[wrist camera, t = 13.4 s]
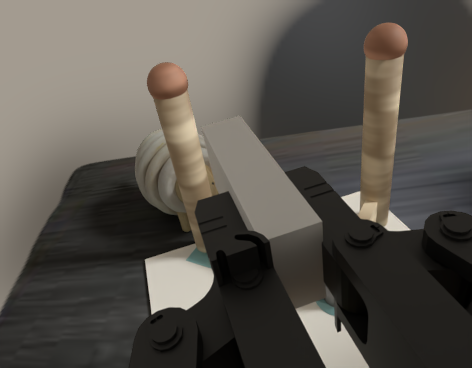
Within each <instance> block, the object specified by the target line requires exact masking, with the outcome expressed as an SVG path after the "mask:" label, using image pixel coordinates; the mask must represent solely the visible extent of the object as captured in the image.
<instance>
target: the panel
mask: <svg viewBox="0 0 472 368" xmlns="http://www.w3.org/2000/svg"><path fill="white" fill-rule="evenodd" d="M147 86H148V90H149V92H150V94H151V95H152V97H153V99H154V102H155V105H156V109H157V112H158V116H159V119H160V123H161V126H162V130H163V133H164V137H165V140H166V144H167V147H168V151H169V154H170V158H171V161H172V164H173V168H174V171H175V175H176V178H177V182H178V185H179V189H180V192H181V195H182V199H183V202H184V206H185V209H186V213H187V216H188V220H189V223H190V227H191V230H192V233H193V237H194V240H195V244H196V247H197V249H198V250H199V251H201V252H204V253H206V249H205V246H204V243H203V240H202V236H201V233H200V230H199V226H198V223H197V220H196V216H195V213H194V212H195V208H196V205H197V201H198V200H201V199H204V198H208V197H211V196H212V193H211V189H210V184H209V180H208V176H207V172H206V167H205V163H204V159H203V154H202V150H201V146H200V142H199V137H198V133H197V129H196V124H195V120H194V116H193V112H192V108H191V103H190V99H189V94H188V90H187V88H188V80H187V77H186V74H185V73H184V71H183V70H182V69H181V68H180V67H179V66H177V65H175V64H173V63H168V62H167V63H166V62H165V63H160V64H158V65H156V66H155V67H153V68H152V70H151V71H150V73H149V75H148V78H147Z"/></svg>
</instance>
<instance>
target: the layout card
mask: <svg viewBox="0 0 472 368" xmlns="http://www.w3.org/2000/svg"><path fill="white" fill-rule="evenodd" d="M341 198H342V199H343V200H344V201H345V202H346V203H347V205H348V206H349V207H350V208H351V209H352V210H353V211H354V212H355V213H356V214H357V215H358V214H359V212H360V192H356V193H353V194H350V195H347V196H344V197H341ZM384 228H386V229H387V230H388V231H406V230H410V229H409V228H408V227H407V226H406V225H404V224H403V223H402V222H401V221H400V220H399V219H398V218H397V217H396V216H395V215H394V214H392V213H391V212H390V211H389V213H388V222H387V225H386V226H384ZM145 264H146V272H147V280H148V288H149V296H150V304H151V312H152V314H154V313H155V312H157V311H159V310H162V309H165V308H168V307H180V308H182V309H185V310H187V309H189V308H190V307H192V306H193V305H195V304H196V303H198V302H199V301H200V300H201V299H202V298H203V297H205V295H206V294H207V293H208V291H209V290H210V288H211V286H212V284H213V279H214V274H213V271H212V268H211V265H210V262H209V259H208V256H207V253H204V252H201V251H199V250H198V249H197V247H196V244H192V245H189V246H186V247H182V248H179V249H176V250H173V251H170V252H167V253H163V254H160V255H157V256H154V257H151V258H148V259H145ZM296 311H297V313H298V315H299V317H300V319H301V321H302V322H303V324H304V326H305V328H306V330H307V332H308V334H309V336H310V338H311V340H312V342H313V344H314V346H315V347H316V349H317V351H318V353H319V355H320V357H321V359H322V361H323V363H324V365H325V367H326V368H369V366H368V364H367V363H366V361H365V360H364V358H363V356H362V355H361V353H360V351H359V350H358V348H357V347H356V345H355V343H354V342H353V340H352V338H351V337H350V335H349V334H348V332H347V330H346V329H345V327H344V325H343V324H342V322H341V331H340V332H338V333H337V330H336V327H335V317H334V307H332V306H330V305H329V304H327V303H326V301H325V300H324V299H321V300H319V301H316V302H313V303H310V304H308V305H305V306H302V307H299V308H297V309H296Z"/></svg>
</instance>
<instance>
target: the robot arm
mask: <svg viewBox="0 0 472 368" xmlns="http://www.w3.org/2000/svg"><path fill="white" fill-rule="evenodd" d="M201 128H202V133H203V137H204V141H205V145H206V149H207V153H208V157H209V161H210V165H211V169H212V173H213V177H214V181H215V186H216V188H217V191H218V193H219V194H217V195H214V196H211V197H208V198H204V199H201V200H198V201H197V205H196V208H195V212H194V213H195V216H196V220H197V223H198V226H199V230H200V233H201V236H202V240H203V243H204V246H205V249H206V253H207V256H208V259H209V262H210V265H211V268H212V271H213V274H214V279H213V284H212V286H211V288H210V290H209V291H208V293H207V294H206V295H205V297H203V298H202V299H201V300H200V301H199V302H198V303H196V304H195V305H193V306H192V307H190V308H189V309H187V310H185V309H182V308H180V307H168V308H165V309H162V310H159V311H157V312H155V313H154V314H152V315H151V316H149V317H148V318H146V320H145V321H144V322H143V323H142V324H141V326H140V327H139V328H138V331H137V333H136V336H135V339H134V343H133V348H132V353H131V359H130V364H129V368H326V367H325V365H324V363H323V361H322V359H321V357H320V355H319V353H318V351H317V349H316V347H315V346H314V344H313V342H312V340H311V338H310V336H309V334H308V332H307V330H306V328H305V326H304V324H303V322H302V321H301V319H300V317H299V315H298V313H297V311H296V309H297V308H299V307H302V306H305V305H308V304H310V303H313V302H316V301H319V300H321V299H324V298H326V287H325V284H326V286H327V288H328V289H329V291H330V292H331V294H332V295H333V297H334V317H335V327H336V330H337V333H338V332H340V331H341V322H342V324H343V325H344V327H345V329H346V330H347V332H348V334H349V335H350V337H351V338H352V340H353V342H354V343H355V345H356V347H357V348H358V350H359V351H360V353H361V355H362V356H363V358H364V360H365V361H366V363H367V364H368V366H369V368H472V216H471V215H469V214H466V213H463V212H456V211H442V212H438V213H435V214H432V215H430V216H429V217H428V218H427V219H426V221H425V225H424V229H419V230H406V231H388V230H387V229H386V228H384V227H383V226H382V225H380V224H379V223H377V222H374V221H371V220H368V219H360V218H359V216H358V215H357V214H356V213H355V212H354V211H353V210H352V209H351V208H350V207H349V206H348V205H347V203H346V202H345V201H344V200H343V199H342V198H341V197H340V196H339V195H338V194H337V193H336V192H335V191H334V190H333V188H332V187H331V186H330V185H329V184H327V183H326V181H325V180H324V179H323V178H322V176H321V175H320V174H319V173H318V172H316V171H313V170H311V169H309V168H307V167H305V166H304V167H301V168H297V169H294V170H291V171H288V172H285V173H284V172H283V170H282V169H281V168H280V166H279V165H278V164H277V163H276V161H275V160H274V159H273V157H272V156H271V155H270V154H269V152H268V151H267V150H266V148H265V147H264V146H263V145H262V143H261V142H260V141H259V139H258V138H257V137H256V136H255V134H254V133H253V132H252V130H251V129H250V128H249V127H248V125H247V124H246V123H245V121H244V120H243V119H242V118H241V116H236V117H233V118H229V119H226V120H222V121H219V122H215V123H212V124H208V125H205V126H202V127H201Z"/></svg>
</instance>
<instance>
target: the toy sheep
mask: <svg viewBox="0 0 472 368" xmlns="http://www.w3.org/2000/svg"><path fill="white" fill-rule="evenodd" d="M198 137H199V142H200V146H201V150H202V154H203V159H204V163H205V167H206V172H207V176H208V180H209V184H210V189H211V193H212V196H214V195H217V194H219V193H218V191H217V188H216V186H215V181H214V177H213V173H212V169H211V165H210V161H209V157H208V153H207V149H206V145H205V141H204V137H203V136H201V135H200V134H198ZM135 176H136V180H137V183H138V186H139V189H140V191H141V193H142V195H143V196H144V198H145V199H146V200H147V201H148V202H149V203H150V204H151V205H153V206H155V207H156V208H158V209H159V210H161V211H162V212H165V213H167V214H171V215H178V217H179V220H180V223H181V227H182V230H183V231H185V232H189V231H191V227H190V223H189V220H188V216H187V213H186V209H185V206H184V202H183V199H182V195H181V192H180V189H179V185H178V182H177V178H176V175H175V171H174V168H173V164H172V161H171V158H170V154H169V151H168V147H167V144H166V140H165V137H164V133H163V130H162V129H160V130H158V131H155V132H153V133H151V134H150V135H148V136H147V137H146V138H145V139H144V140H143V142H142V143H141V144H140V146H139V148H138V151H137V154H136V163H135Z"/></svg>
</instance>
